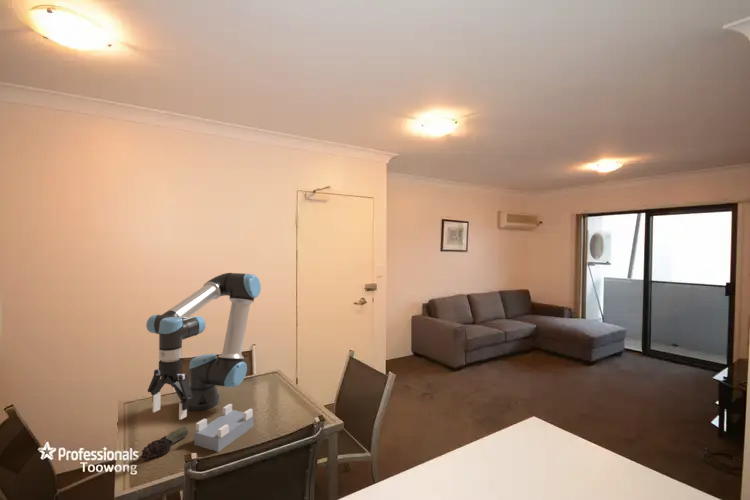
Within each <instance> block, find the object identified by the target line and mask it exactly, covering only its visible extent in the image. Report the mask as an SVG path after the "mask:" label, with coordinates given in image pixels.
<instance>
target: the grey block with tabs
mask: <svg viewBox="0 0 750 500" xmlns="http://www.w3.org/2000/svg"><path fill="white" fill-rule="evenodd" d="M253 413H254V409H253V408H248V409H247V410H245V411H239V410H236V409H233V403H228V404H226V405H225V406H223V407H222V415H220V416H219V417H217V418H215V419H214V420H212V421H211V422H209V423H208V419H207V418H203V419H201V420H199V421H197V422H196V424H195V431H194V437H193V438H194V440H193V441H194V443H193V444H194V446H198V447H200V448H204V449H207V450H210V451H213V450H214V452H217V453H220V452H221V451H222V450H224V449H225V448H226V447H227V446H229V445H230V444H232V443H233V442H234V441H236V440H237V439H238V438H239V437H241V436H242V435H243V434H244V435H245V433H247V431H249V430H251V429H252V428H253V427H254V423H255V422H254V418H255V416H254V414H253Z"/></svg>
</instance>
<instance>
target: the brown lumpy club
mask: <svg viewBox="0 0 750 500" xmlns="http://www.w3.org/2000/svg"><path fill="white" fill-rule="evenodd" d="M188 433H189V430H188V428H187V427H186V426H184V425H182V426H179V427H177V428H176V429H175V430H173V431H171V432H169V433H168V434H166V435H164V436H163V437H161V438H160V439H156V440H154V441H151V443H148V444H147V445H146V446H145V447H143V449H142V450H141V455H140V458H141V459H144V461H145V460H146V461H147V460H149V459H151V458H157V457H159V456H160V457H162V456H163V457H164V456H165V455H167V454H168V453H169V452H170V451H171V448H172V445H173V444H175V443H176V442H178V441H180V440H183V438H185V437H186V436H187V435H188Z"/></svg>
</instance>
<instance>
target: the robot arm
mask: <svg viewBox="0 0 750 500" xmlns="http://www.w3.org/2000/svg"><path fill="white" fill-rule="evenodd" d="M261 289H262V287H261V281H260V279H259V277H258V276H257V275H256V274H253V273H236V272H226V273H221V274H218V275H217V276H215V277H213V278H211V279H209V280H208V281H206V282H205V283H204V284H203V285H202V287H201V288H200V289H198V290H196V291H194V293H192V294H191V295H188V296H187V297H186V298H185V299H183V300H182V301H180V302H179V303H177V304H176V305H173V307H171V308H170V309H169V310H167V311H166V312H164V313H162V314H153V315H151V316H150V317H148V319H147V321H146V325H145V326H146V330H147V332H149V333H152V334H156V335H158V342H159V343H158V350H159V351H158V359H159V360H158V368H157V369H155V370H154V371H153V377H152V378H151V381H150V384H149V386H148V389H147V392H148V393H150V394H151V402H152V413H156V412H158V411H161V399H162V398H161V396H162V395H161V390H162V388H163V387H164V386H165V384H166V385H170V386H171V387H172V388H173V389H174V390H175V393H177V394H176V395H177V397H178V398H179V399H180V401H179V402H178V403H179V404H178V405H179V406H178V409H179V410H178V420H183V419H184V418H187V416H188V410H189V411H192V412H193V411H194V412H195V411H197V412H198V411H205V410H208V409H211V408H213V407H215V406H217V405H218V404H219V403H220V393H219V392H218V389H217V386H220V387H226V388H236V387H238V386H239V385H240V384H241V383H242V382H243V381H244V380H245V377H246V375H247V371H248V367H247V366H248V364H247V362H244V359H245V357H244V355H242V351H243V346H244V345H243V344H244V340H245V336H246V335H245V334H246V328H247V323H248V317H249V311H250V306H251V304H253V303H254V301H255V299H256V298H258V297H259V295H260V294H261ZM223 296H229V297H228V299H229V301H230V302H231V303H230V304H231V305H230V310H229V316H228V321H227V326H226V332H225V336H224V337H225V338H224V342H223V347H222V352H221V353H220V354H219V355H218V357H217V355H216V354H215V353H208V354H201V355H198V356H196V357H193V358H192V359H190V361H189V368H188V369H189V370H188V371H189V372H188V373H189V374H187V373H186V372H184V373H180V370H181V368H182V365H183V364H182V363H183V361H182V360H183V359H182V357H183V356H182V355H183V340H186V339H188V338H189V339H190V338H191V337H192V338H193V337H195V336H198V335H199V334H202V333H203V332H204V331H205V329H206V321H205V319H204V317H202V316H200V315H195V316H194V314H195V313H197V312H198V311H199V310H200V309H202V308H203V307H205V306H206V305H207V304H208V303H210V302H212V300H217V299H218V298H220V297H223ZM192 315H193V316H192ZM187 375H188V377H189V380H188V377H187ZM188 381H189V382H188Z"/></svg>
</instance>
